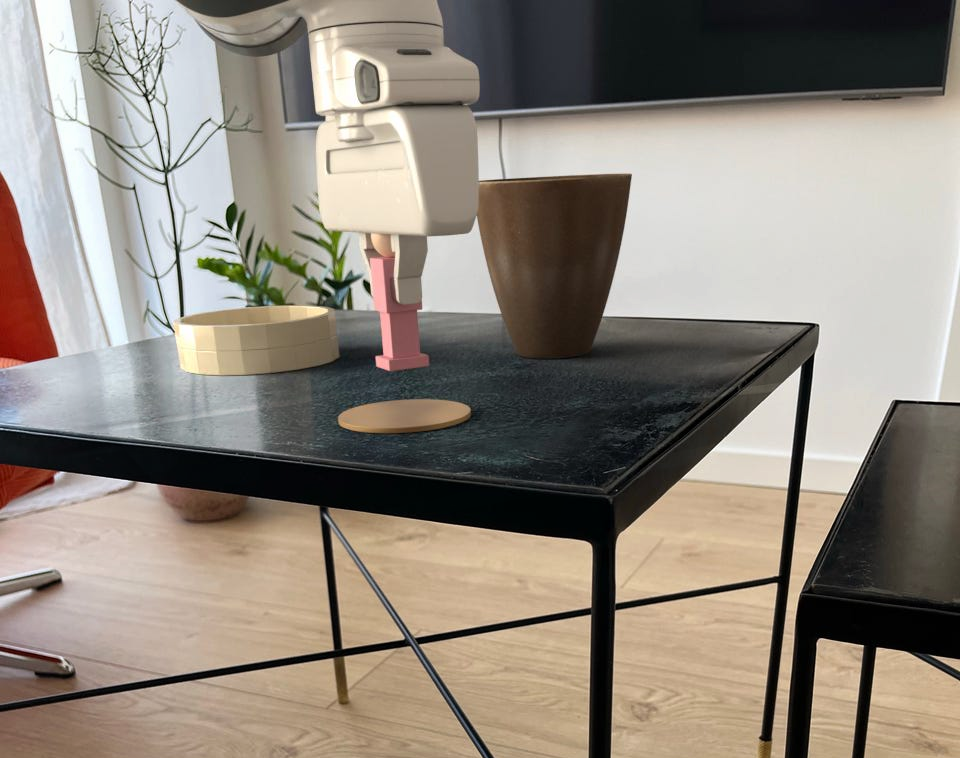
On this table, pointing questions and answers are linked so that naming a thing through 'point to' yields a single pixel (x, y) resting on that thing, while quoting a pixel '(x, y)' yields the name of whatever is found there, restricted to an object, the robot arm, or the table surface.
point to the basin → (256, 339)
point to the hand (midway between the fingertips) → (396, 301)
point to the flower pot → (553, 256)
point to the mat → (404, 416)
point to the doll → (394, 314)
